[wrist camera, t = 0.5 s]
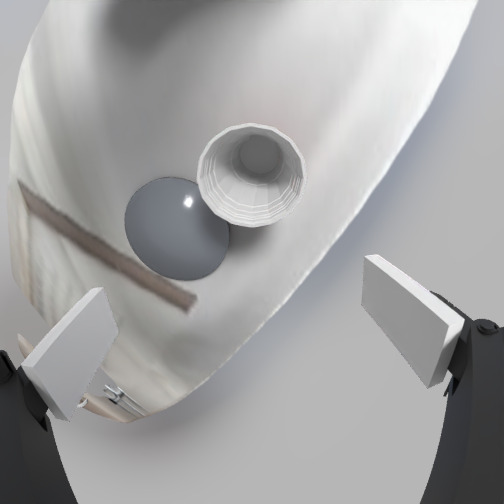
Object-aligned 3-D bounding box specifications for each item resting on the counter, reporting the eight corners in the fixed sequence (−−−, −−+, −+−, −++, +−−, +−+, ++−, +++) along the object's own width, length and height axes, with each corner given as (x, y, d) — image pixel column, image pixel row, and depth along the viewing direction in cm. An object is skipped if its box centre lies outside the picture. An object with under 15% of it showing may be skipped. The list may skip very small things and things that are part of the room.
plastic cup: (299, 193, 38) (304, 232, 28) (224, 191, 39) (201, 227, 29) (302, 117, 32) (310, 124, 22) (221, 117, 33) (192, 125, 23)
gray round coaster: (111, 210, 43) (107, 214, 41) (189, 155, 36) (185, 157, 35) (168, 287, 50) (165, 291, 49) (250, 252, 44) (249, 257, 43)
